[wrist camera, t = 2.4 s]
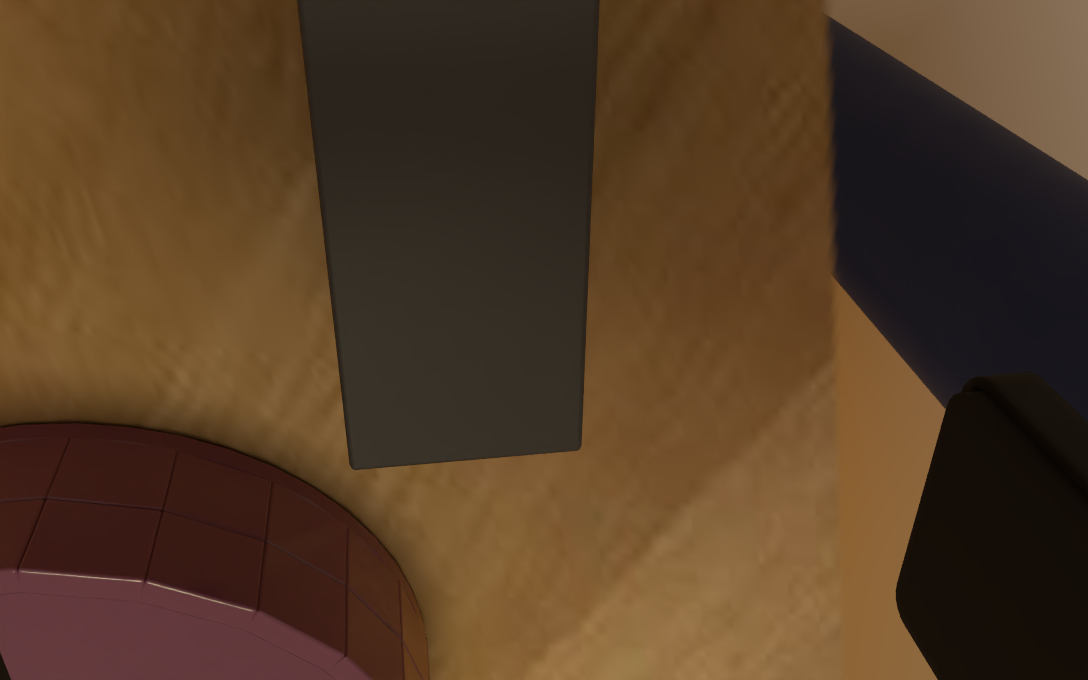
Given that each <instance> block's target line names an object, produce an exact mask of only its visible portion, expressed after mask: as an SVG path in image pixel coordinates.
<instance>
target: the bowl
mask: <svg viewBox="0 0 1088 680" xmlns="http://www.w3.org/2000/svg"><path fill="white" fill-rule="evenodd" d="M0 653H1V655H2V658H3V660H4V663H5V665H6V668H7V670H8V673H9V675H10V678H11V680H430V674H429V660H428V646H427V637H426V634H425V629H424V623H423V618H422V616H421V613H420V610H419V607H418V605H417V602H416V599H415V597H414V594H413V591H412V589H411V588H410V586H409V584H408V583H407V581H406V579H405V577H404V576H403V574H402V572H401V570H400V569H399V567H398V565H397V564H396V562H395V561H394V560H393V559H392V557H391V556H390V555H389V554H388V552H387V551H386V550H385V549H384V548H383V546H382V545H381V544H380V543H379V541H378V540H377V539H376V538H375V537H374V535H373V534H371V533H370V532H369V531H368V530H367V529H366V528H365V527H364V526H363V525H362V524H360V523H359V522H358V521H357V520H356V519H355V518H354V517H353V516H352V515H351V514H349V513H348V512H347V511H346V510H345V509H343V508H342V507H340V506H339V505H338V504H336V503H335V502H333V501H332V500H330V499H329V498H328V497H326V496H325V495H323V494H322V493H320V492H319V491H317V490H316V489H315V488H313V487H312V486H310V485H308V484H306V483H304V482H302V481H300V480H298V479H296V478H294V477H293V476H291V475H289V474H287V473H285V472H283V471H281V470H279V469H277V468H276V467H274V466H271V465H269V464H266V463H264V462H261V461H259V460H256V459H254V458H251V457H248V456H246V455H243V454H241V453H238V452H236V451H233V450H231V449H228V448H224V447H221V446H217V445H213V444H210V443H206V442H202V441H199V440H195V439H192V438H188V437H184V436H181V435H175V434H169V433H163V432H157V431H151V430H146V429H140V428H134V427H125V426H111V425H98V424H84V423H61V424H24V425H16V426H9V427H1V428H0Z"/></svg>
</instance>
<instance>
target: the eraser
mask: <svg viewBox="0 0 1088 680" xmlns="http://www.w3.org/2000/svg"><path fill="white" fill-rule="evenodd" d="M599 1H600V0H297V4H298V12H299V21H300V30H301V39H302V48H303V57H304V65H305V74H306V83H307V92H308V101H309V110H310V118H311V127H312V136H313V145H314V154H315V163H316V171H317V180H318V189H319V198H320V207H321V216H322V224H323V233H324V242H325V251H326V260H327V269H328V277H329V286H330V295H331V304H332V313H333V322H334V330H335V339H336V348H337V357H338V366H339V375H340V383H341V392H342V401H343V410H344V419H345V428H346V436H347V445H348V454H349V463H350V466H351V468H352V469H354V470H360V469H372V468H383V467H395V466H406V465H418V464H429V463H441V462H452V461H464V460H475V459H487V458H498V457H510V456H521V455H533V454H545V453H556V452H568V451H577V450H579V449H580V447H581V444H582V419H583V394H584V370H585V345H586V321H587V296H588V271H589V247H590V222H591V198H592V173H593V148H594V124H595V99H596V75H597V50H598V25H599Z"/></svg>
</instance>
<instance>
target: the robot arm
mask: <svg viewBox="0 0 1088 680" xmlns="http://www.w3.org/2000/svg"><path fill="white" fill-rule="evenodd" d="M896 602H897V607H898V611H899V614H900V617H901V619H902V621H903V623H904V625H905V627H906V628H907V630H908V632H909V633H910V635H911V636H912V638H913V640H914V641H915V643H916V645H917V646H918V648H919V650H920V651H921V653H922V654H923V656H924V658H925V659H926V661H927V663H928V664H929V666H930V668H931V669H932V671H933V672H934V674H935V676H936V677H937V679H938V680H1088V422H1087V421H1086V420H1085V419H1084V418H1083V417H1082V416H1081V415H1080V414H1079V413H1078V412H1076V411H1075V410H1074V409H1073V408H1072V407H1071V406H1070V405H1069V404H1068V403H1067V402H1066V401H1065V400H1064V399H1063V398H1062V397H1061V396H1060V395H1059V394H1058V393H1057V392H1056V391H1055V390H1054V389H1053V388H1051V387H1050V386H1049V385H1048V384H1047V383H1046V382H1045V381H1044V380H1043V379H1042V378H1040V377H1039V376H1037V375H1036V374H1033V373H1027V372H1025V373H1014V374H1003V375H991V376H980V377H975V378H972V379H970V380H969V381H968V382H967V383H966V384H965V385H964V387H963V389H962V392H961V393H958V394H955V395H953V397H952V398H951V399H950V400H949V402H948V405H947V407H946V411H945V415H944V418H943V422H942V425H941V429H940V433H939V436H938V440H937V443H936V447H935V450H934V454H933V458H932V461H931V464H930V468H929V472H928V475H927V479H926V482H925V486H924V490H923V493H922V496H921V500H920V504H919V507H918V511H917V514H916V518H915V521H914V525H913V529H912V532H911V536H910V540H909V543H908V546H907V550H906V553H905V557H904V561H903V564H902V568H901V571H900V575H899V579H898V582H897V587H896ZM0 680H11V678H10V675H9V673H8V670H7V668H6V665H5V663H4V660H3V658H2V655H1V653H0Z"/></svg>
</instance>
